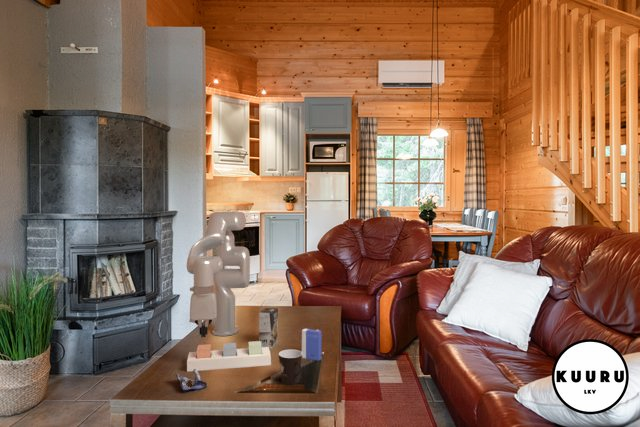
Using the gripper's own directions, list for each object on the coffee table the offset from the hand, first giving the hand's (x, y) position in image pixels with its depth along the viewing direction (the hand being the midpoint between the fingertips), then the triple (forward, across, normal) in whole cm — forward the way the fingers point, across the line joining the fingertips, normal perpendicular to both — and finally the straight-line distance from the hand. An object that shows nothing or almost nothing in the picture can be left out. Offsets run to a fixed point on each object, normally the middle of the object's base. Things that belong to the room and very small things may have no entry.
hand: (203, 336), depth 170 cm
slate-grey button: (+9, +10, +1) cm, 14 cm away
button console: (+12, +10, +1) cm, 16 cm away
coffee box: (+12, +27, +19) cm, 35 cm away
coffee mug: (+12, +32, -22) cm, 40 cm away
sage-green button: (+9, +20, +1) cm, 22 cm away
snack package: (+13, -3, -18) cm, 22 cm away
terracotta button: (+9, 0, +1) cm, 9 cm away
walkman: (+12, +43, 0) cm, 45 cm away
